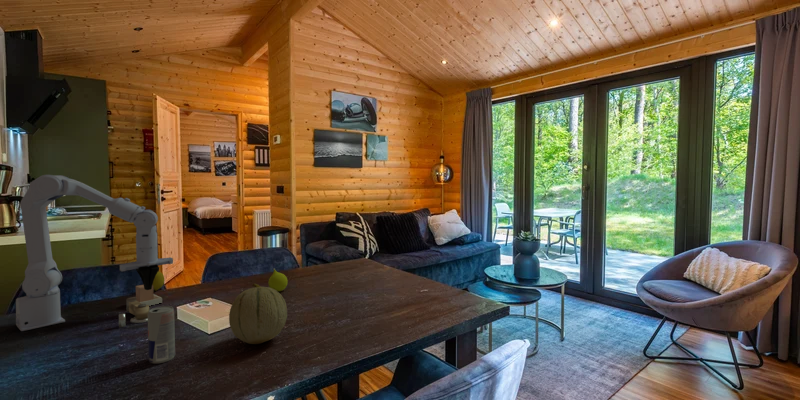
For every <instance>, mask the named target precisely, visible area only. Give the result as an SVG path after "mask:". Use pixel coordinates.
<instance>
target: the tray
mask: <svg viewBox="0 0 800 400" xmlns="http://www.w3.org/2000/svg"><path fill="white" fill-rule="evenodd" d="M140 303H141V304H146V305H149V306H150V307H152V306H151V305H154V306H156V305H155V304H159V303H162V304H163V297H161V296H158V295H157V294H155V293H154V299H153V300H148V301H144V302H140ZM159 305H160V304H159Z"/></svg>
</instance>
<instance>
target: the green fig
mask: <svg viewBox="0 0 800 400" xmlns="http://www.w3.org/2000/svg"><path fill="white" fill-rule="evenodd" d="M272 271H273V272H272V274H271V276H270V277H269V279H268V282H267V283H268V287H269V288H272V289H275V290H276V291H277V292H279V293H280V292H282V291H284V290H285V289H286V288H287V285H288V282H289V280H288V277H287V276H286V275H285V274H284V273H281V272H278V271H277V270H276V268H274V267H273V268H272Z"/></svg>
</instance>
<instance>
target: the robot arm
mask: <svg viewBox="0 0 800 400" xmlns="http://www.w3.org/2000/svg"><path fill="white" fill-rule="evenodd" d="M64 196H79V197H82V198H84V199H86V200H89V201H90V202H93V203H95V204H98V205H101V206H103V207H105V208H107V211H108V213H109V214H111V215H113V216H115V217H117V218H119V219H122V220H124V221H125V222H128V223H133V225H134V226H135V227H136V230H135V231H136V234H135V242H136V243H135V244H136V245H135V247H136V248H135V250H136V253H135V254H136V261H132V262H125V263H122V264H119V272H126V271H130V270H135V271H136V272H137V274H138V275H139V277H140V279H141V282H142V285H144V289H145V290H150V289H152V284H153V281H154V278H155V276H156V274H157V272H158V271H159V272H160V266H163V265H173V264H174V258H173V257H161V258H158V257H159V255H158V253H159V252H158V250H159V249H158V232H157V231H158V230H157V229H158V228H157V225H156V224H157V223H158V220H159V217H158V215H157V213H156V212H154V211H153V210H152V209H146V206H143V205H142V206H140V205H138V204H136V203H134V202H132V201H131V199H130V198H128V197H125V198H123V197H117V198H114V197H111V196H109V195H107V194H105V193H104V192H102V191H100V190H98V189H95V188H93V187H92V186H89V185H88V184H86V183H83V182H82V181H78V180H76V179H73V178H69V177H67V176H65V175H60V174H58V175H57V174H56V175H55V174H54V175H53V174H43V175H40V176H38V177H37V178H35V179H34V180H32V181H31V182H29V187H28V189H27V191H26V192H25V193H24V195H23V196H22V198H21V200H20V210H21V218H22V225H23V231H24V232H23V233H24V241H25V246H26V247H25V248H26V255H27V263H28V264H27V266H26V268H25V270H24V280H23V281H22V284H21V288H22V291H23V292H24V293H25V296H21V297H17V298H16V299H15V325H16V327H17V328H18V329H19V330H20V332H26V331H29V330H34V329H38V328H43V327H48V326H51V325H52V326H53V325H56V324H57V325H58V324H61V323H65V322H66V319H65V318H63V317H62V315H61V314H62V313H61V312H62V311H61V290H60V288H59V285H60V284H61V283H62V281H63V275H62V272H61V271H60V270H59V269H58V265H57V263H56V261H55V260H54V258H53V253H52V243H51V236H50V229H49V223H48V214H47V207H48V206H49V205H50V204H51V203H53V202H54V201H56V200H58V199H60V198H62V197H64Z"/></svg>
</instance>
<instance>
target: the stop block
mask: <svg viewBox="0 0 800 400" xmlns="http://www.w3.org/2000/svg"><path fill="white" fill-rule="evenodd" d="M154 294H155V293H154V289H153V285H152V289H150V290H145V289H144V285H143V284H140V285H135V297H136V301H138V302H144V301H148V300H153V299H154Z"/></svg>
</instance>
